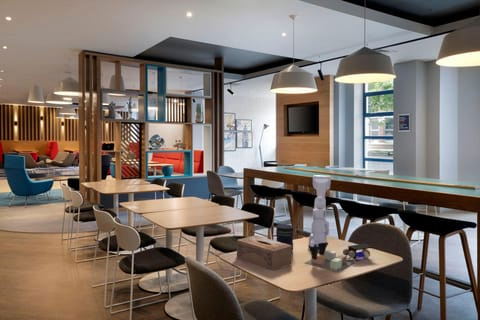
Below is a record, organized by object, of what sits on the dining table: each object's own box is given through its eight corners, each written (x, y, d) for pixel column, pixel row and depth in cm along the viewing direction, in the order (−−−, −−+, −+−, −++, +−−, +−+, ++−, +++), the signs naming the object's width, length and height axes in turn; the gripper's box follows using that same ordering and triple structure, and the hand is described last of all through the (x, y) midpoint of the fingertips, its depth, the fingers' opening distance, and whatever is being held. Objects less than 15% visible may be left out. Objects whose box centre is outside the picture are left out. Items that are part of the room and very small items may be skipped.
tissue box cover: (291, 264, 194) (291, 245, 193) (272, 271, 184) (273, 251, 183) (255, 252, 213) (255, 235, 212) (236, 258, 203) (237, 239, 202)
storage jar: (272, 252, 213) (272, 226, 212) (281, 248, 221) (282, 223, 220) (286, 256, 207) (287, 229, 206) (296, 252, 214) (297, 226, 213)
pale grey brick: (322, 258, 204) (323, 250, 203) (325, 256, 206) (325, 249, 206) (333, 260, 200) (333, 253, 200) (335, 259, 202) (336, 251, 202)
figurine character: (351, 264, 198) (373, 259, 204) (350, 250, 197) (372, 245, 203) (342, 261, 204) (364, 255, 210) (342, 247, 203) (364, 242, 209)
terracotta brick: (311, 262, 197) (311, 254, 197) (314, 260, 199) (314, 253, 199) (321, 264, 193) (321, 257, 193) (324, 263, 196) (324, 255, 195)
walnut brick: (341, 266, 191) (341, 258, 191) (335, 264, 194) (336, 257, 193) (346, 263, 196) (346, 255, 196) (340, 261, 198) (341, 254, 198)
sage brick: (336, 270, 186) (336, 262, 186) (330, 268, 188) (330, 260, 188) (341, 266, 190) (341, 259, 190) (335, 265, 192) (336, 257, 192)
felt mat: (304, 263, 196) (304, 262, 196) (323, 254, 211) (323, 253, 211) (339, 272, 184) (339, 271, 184) (355, 262, 199) (355, 261, 199)
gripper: (318, 235, 187) (318, 262, 188) (332, 230, 198) (331, 255, 199) (306, 233, 192) (305, 259, 192) (320, 228, 203) (319, 253, 203)
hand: (317, 257), depth 196 cm, fingers open, 7 cm apart
